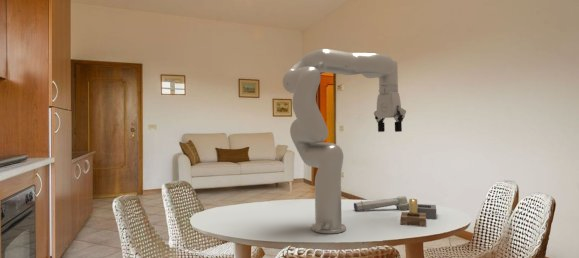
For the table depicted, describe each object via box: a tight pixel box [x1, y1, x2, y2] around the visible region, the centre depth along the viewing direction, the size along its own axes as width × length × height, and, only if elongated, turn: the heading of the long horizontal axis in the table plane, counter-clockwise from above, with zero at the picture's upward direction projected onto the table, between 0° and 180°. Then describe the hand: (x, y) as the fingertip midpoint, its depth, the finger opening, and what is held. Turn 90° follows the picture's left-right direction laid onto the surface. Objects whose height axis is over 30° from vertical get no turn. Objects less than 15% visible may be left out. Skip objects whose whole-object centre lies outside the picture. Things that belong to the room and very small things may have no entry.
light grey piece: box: [353, 195, 409, 212], centre depth 166 cm, size 5×7×25 cm
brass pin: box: [408, 198, 418, 217], centre depth 142 cm, size 3×3×9 cm
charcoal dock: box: [417, 203, 437, 220], centre depth 153 cm, size 9×9×4 cm
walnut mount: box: [400, 211, 427, 227], centre depth 142 cm, size 9×9×3 cm
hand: (389, 131), depth 153 cm, fingers open, 9 cm apart
